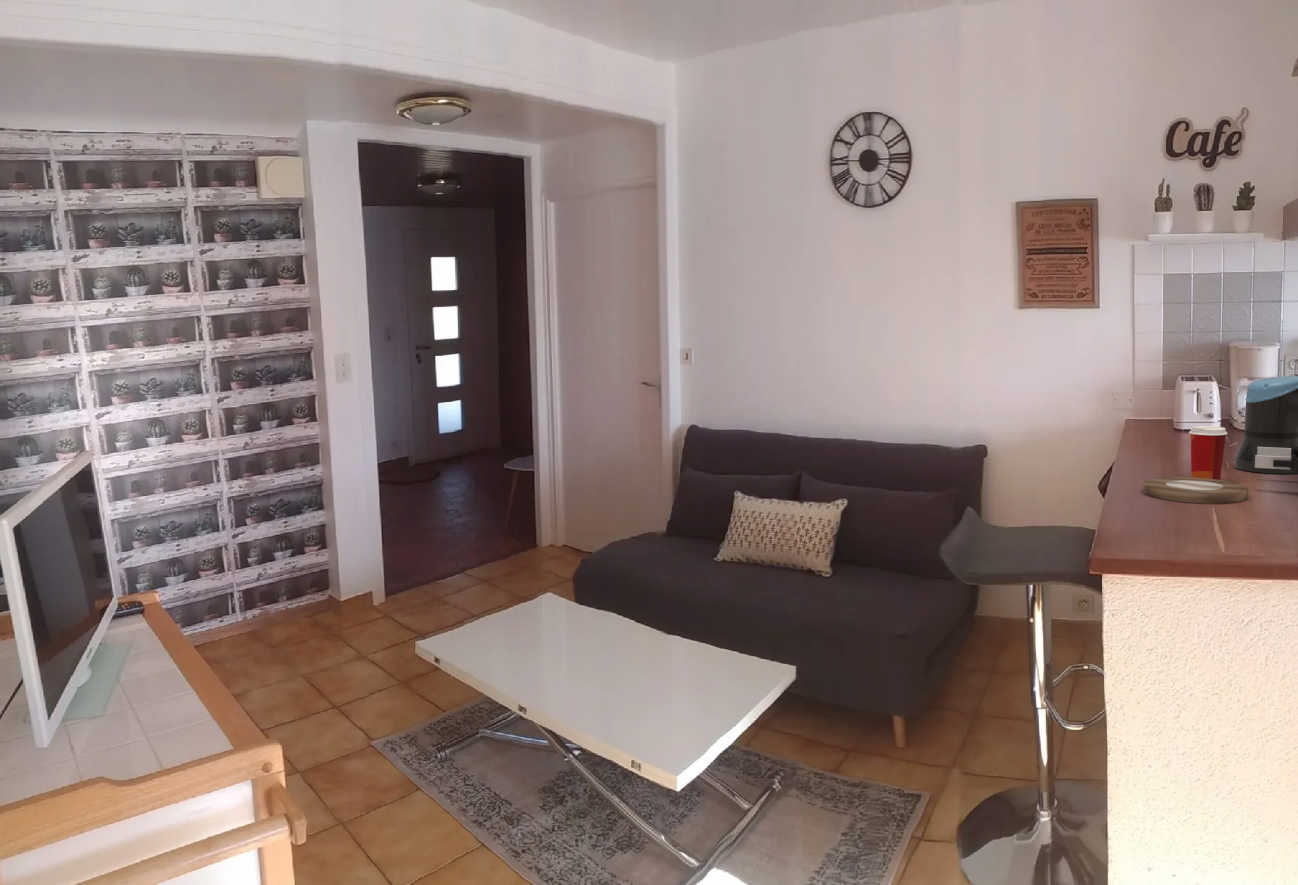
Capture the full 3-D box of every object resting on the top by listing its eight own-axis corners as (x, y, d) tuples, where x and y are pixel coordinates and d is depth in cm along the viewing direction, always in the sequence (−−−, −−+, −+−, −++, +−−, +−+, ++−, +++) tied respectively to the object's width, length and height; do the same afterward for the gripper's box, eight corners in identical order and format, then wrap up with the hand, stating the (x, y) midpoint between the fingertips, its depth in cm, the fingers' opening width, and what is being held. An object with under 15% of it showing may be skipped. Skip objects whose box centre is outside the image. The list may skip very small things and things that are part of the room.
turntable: (1148, 482, 217) (1149, 474, 217) (1249, 489, 205) (1249, 480, 205) (1136, 498, 201) (1137, 489, 200) (1245, 507, 189) (1245, 497, 189)
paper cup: (1214, 482, 220) (1217, 425, 218) (1231, 488, 212) (1234, 429, 210) (1179, 483, 221) (1182, 425, 219) (1195, 489, 213) (1198, 429, 211)
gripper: (1376, 490, 188) (1253, 482, 200) (1368, 470, 208) (1257, 464, 220) (1379, 454, 187) (1255, 448, 199) (1371, 438, 207) (1258, 433, 219)
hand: (1255, 456), depth 210 cm, fingers open, 13 cm apart
